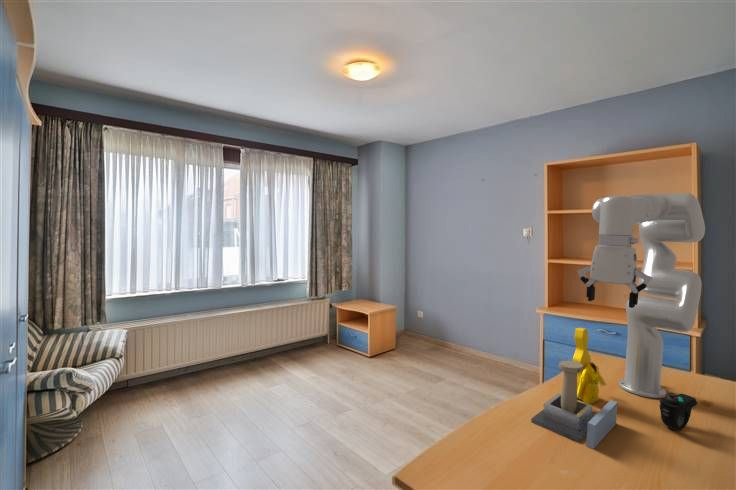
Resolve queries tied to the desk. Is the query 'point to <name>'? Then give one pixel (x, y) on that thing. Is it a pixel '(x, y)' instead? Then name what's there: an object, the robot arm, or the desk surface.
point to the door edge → (601, 424)
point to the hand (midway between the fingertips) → (610, 303)
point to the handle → (569, 384)
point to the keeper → (565, 418)
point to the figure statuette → (586, 370)
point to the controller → (676, 410)
